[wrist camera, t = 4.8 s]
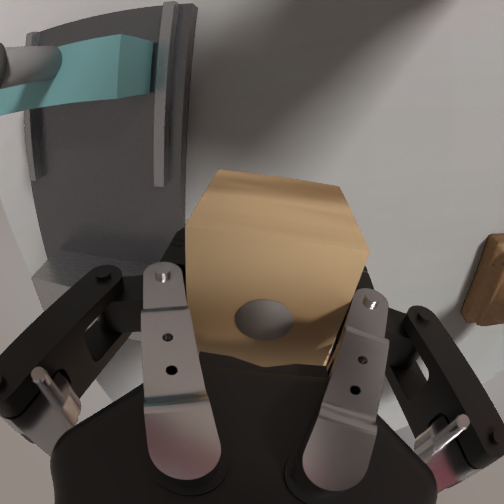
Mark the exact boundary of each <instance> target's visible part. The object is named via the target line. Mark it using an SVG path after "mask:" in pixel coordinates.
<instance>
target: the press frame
mask: <svg viewBox="0 0 504 504" xmlns="http://www.w3.org/2000/svg"><path fill="white" fill-rule="evenodd" d="M197 11H198V8H197V7H196V6H195V5H194V4H178V3H177V2H175V1H171V2H164V3H163V6H153V7H145V8H137V9H131V10H124V11H119V12H113V13H108V14H103V15H98V16H94V17H90V18H85V19H81V20H78V21H74V22H70V23H67V24H63V25H60V26H56V27H53V28H50V29H47V30H44V31H41V32H31V33H28V34H27V35H26V46H56V47H59V46H63V45H67V44H71V43H75V42H80V41H84V40H89V39H94V38H100V37H105V36H111V35H118V34H123V35H128V36H133V37H137V38H141V39H145V40H149V41H153V52H152V64H151V79H150V93H148V94H142V95H135V96H130V97H124V98H119V99H107V100H95V101H85V102H76V103H67V104H60V105H53V106H47V107H41V108H35V109H29V110H24V123H25V138H26V149H27V158H28V166H29V174H30V181H31V185H32V191H33V197H34V203H35V208H36V213H37V218H38V222H39V227H40V231H41V235H42V239H43V243H44V247H45V251H46V255H47V258H48V260H47V261H46V262H45V263H44V264H43V265H42V266H41V268H40V269H39V270H38V271H37V272H36V273H35V274H34V275H33V276H32V281H33V284H34V287H35V289H36V292H37V295H38V297H39V300H40V303H41V305H42V307H43V310H44V311H45V310H46V309H47V308H49V307H50V306H51V305H52V304H53V303H54V302H55V301H56V300H57V299H58V298H59V297H61V296H62V295H63V294H64V293H65V292H66V291H67V290H68V289H70V288H71V287H72V286H73V285H74V284H75V283H76V282H78V281H79V280H80V279H81V278H82V277H83V276H85V275H86V274H87V273H88V272H89V271H90V270H92V269H93V268H95V267H97V266H101V265H114V266H116V267H118V268H119V269H120V270H121V272H122V277H126V276H139V275H143V274H144V271H145V269H146V268H147V267H148V266H150V265H152V264H154V263H157V262H160V260H161V258H162V257H163V255H164V253H165V251H166V250H167V248H168V246H169V245H170V243H171V241H172V240H173V237H174V236H175V234H176V232H178V231H179V230H181V229H182V228H184V227H185V180H186V147H187V125H188V107H189V92H190V79H191V67H192V56H193V46H194V37H195V28H196V19H197ZM96 320H97V318H96V319H95V320H94V321H93V322H92V323H91V324H90V325H89V326H88V328H87V329H89V328H90V327H91V326H92V324H93V323H94V322H95V321H96ZM128 339H132V340H136V341H141V332H132V334H131V335H130V336H129V338H128Z"/></svg>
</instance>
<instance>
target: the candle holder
mask: <svg viewBox="0 0 504 504" xmlns="http://www.w3.org/2000/svg"><path fill="white" fill-rule="evenodd" d="M461 314H462V316H463V318H464V319H465V321H466V323H474V322H476V324H477V325H480V326H489V325H496V324H503V323H504V234H491V235H489V237H488V239H487V242H486V245H485V247H484V250H483V253H482V256H481V259H480V262H479V265H478V268H477V271H476V274H475V276H474V279H473V282H472V284H471V287H470V289H469V292H468V294H467V297H466V299H465V302H464V304H463V307H462V310H461Z"/></svg>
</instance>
